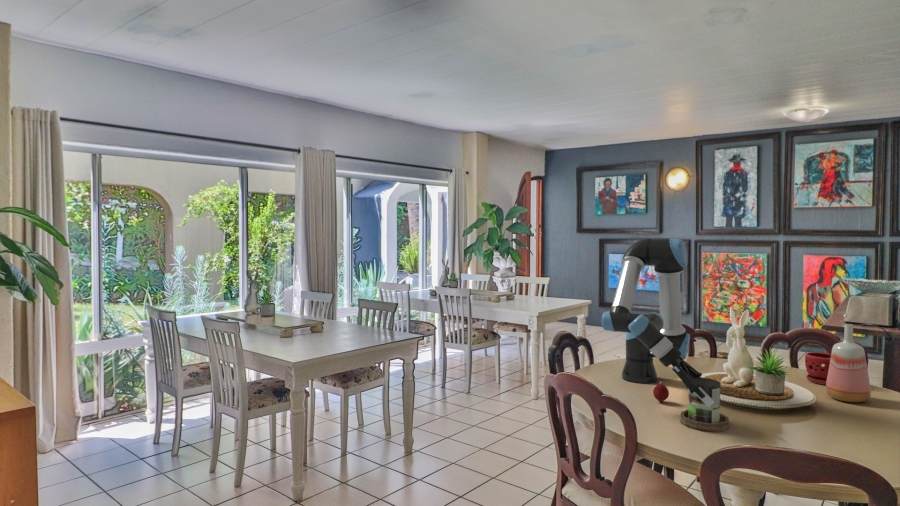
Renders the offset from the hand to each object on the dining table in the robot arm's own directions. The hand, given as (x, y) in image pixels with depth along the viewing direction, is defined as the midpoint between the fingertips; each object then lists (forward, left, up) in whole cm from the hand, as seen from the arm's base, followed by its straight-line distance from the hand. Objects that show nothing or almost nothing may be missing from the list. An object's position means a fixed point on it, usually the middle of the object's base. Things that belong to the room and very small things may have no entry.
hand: (711, 398), depth 194 cm
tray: (0, -2, -9) cm, 9 cm away
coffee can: (0, -2, -9) cm, 9 cm away
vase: (-51, +48, -9) cm, 70 cm away
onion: (-19, -18, -9) cm, 28 cm away
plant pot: (-75, +43, -9) cm, 87 cm away
